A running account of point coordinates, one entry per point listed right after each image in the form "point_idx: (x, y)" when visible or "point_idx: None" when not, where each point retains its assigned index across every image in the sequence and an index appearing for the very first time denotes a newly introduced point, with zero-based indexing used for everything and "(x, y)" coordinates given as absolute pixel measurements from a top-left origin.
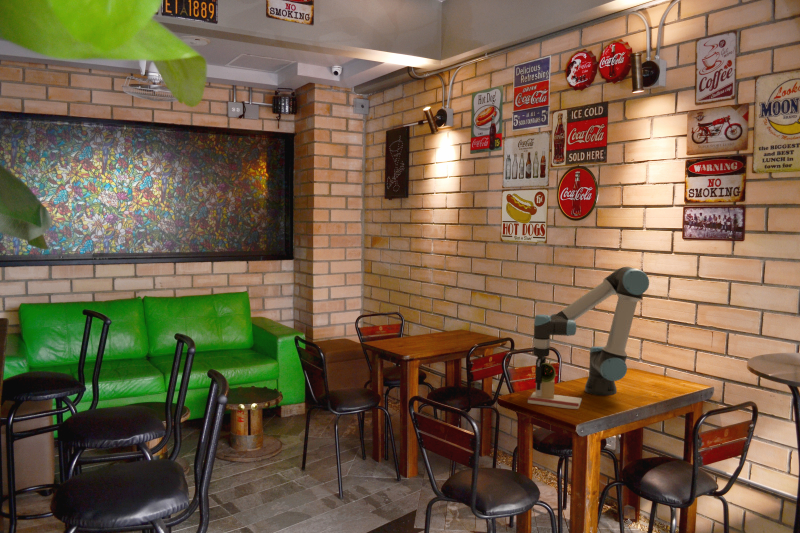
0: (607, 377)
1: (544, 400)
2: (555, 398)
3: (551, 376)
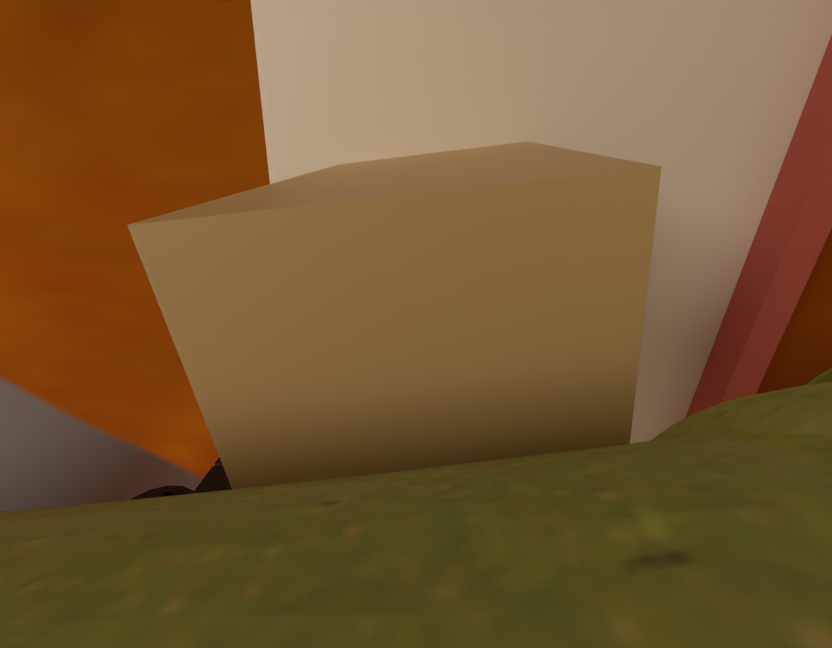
0: None
1: (789, 289)
2: (497, 112)
3: (347, 491)
